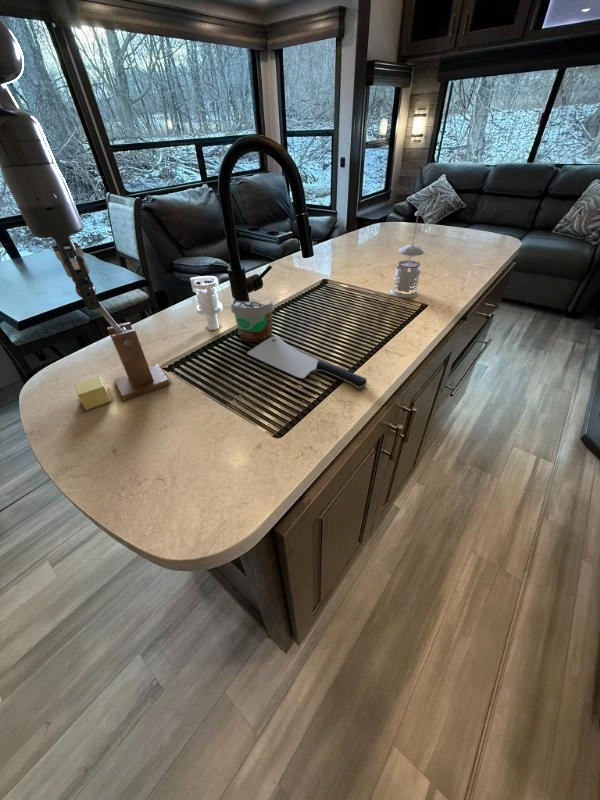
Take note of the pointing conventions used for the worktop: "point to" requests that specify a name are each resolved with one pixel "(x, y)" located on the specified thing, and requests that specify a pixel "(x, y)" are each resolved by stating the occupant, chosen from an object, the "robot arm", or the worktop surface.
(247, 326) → the food container
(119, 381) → the wooden stand
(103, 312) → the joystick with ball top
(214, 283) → the white plastic fitting
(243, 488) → the worktop surface
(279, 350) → the kitchen cleaver
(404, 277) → the french press
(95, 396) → the butter
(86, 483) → the worktop surface
